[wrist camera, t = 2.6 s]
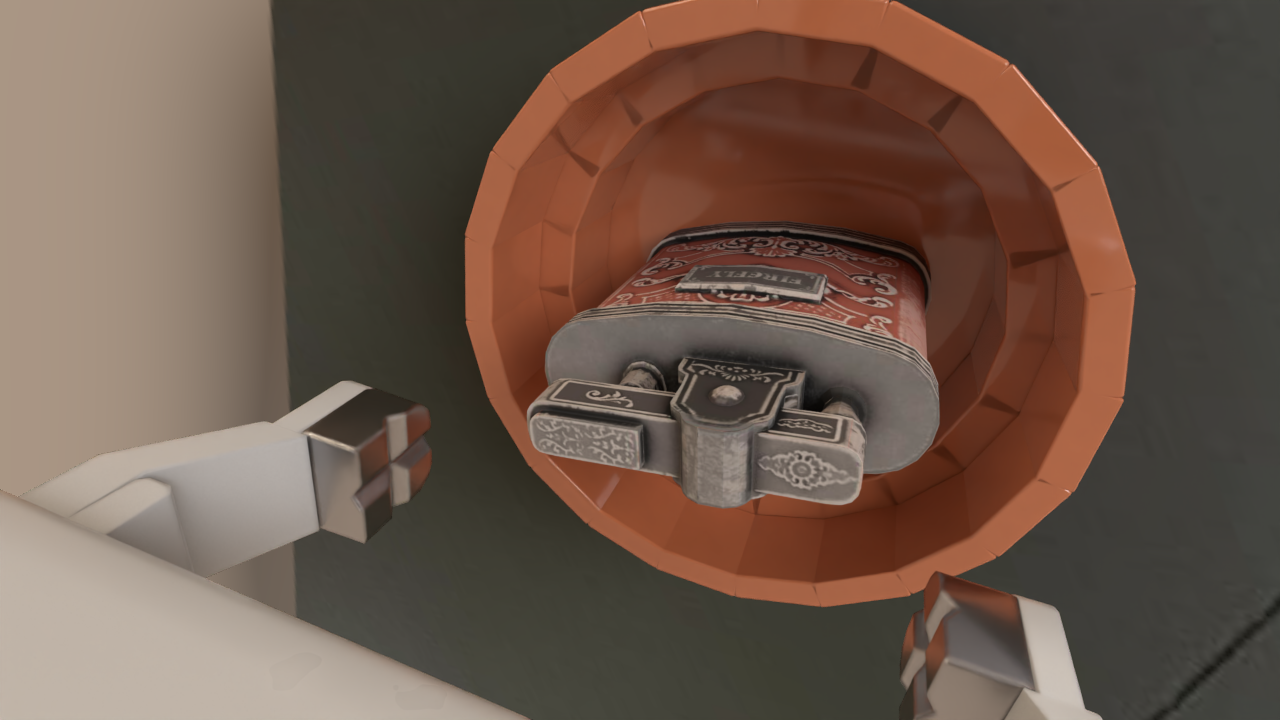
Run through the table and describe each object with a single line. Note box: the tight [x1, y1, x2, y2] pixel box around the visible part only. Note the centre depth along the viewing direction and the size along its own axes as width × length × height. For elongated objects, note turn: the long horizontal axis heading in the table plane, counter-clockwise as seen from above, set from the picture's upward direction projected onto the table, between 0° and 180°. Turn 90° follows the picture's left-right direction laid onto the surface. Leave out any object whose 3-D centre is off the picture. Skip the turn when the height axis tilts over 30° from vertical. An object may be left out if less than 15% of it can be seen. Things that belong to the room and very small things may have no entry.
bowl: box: [465, 0, 1136, 607], centre depth 18 cm, size 15×15×6 cm
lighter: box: [527, 221, 940, 509], centre depth 16 cm, size 8×3×10 cm, turn 92°
